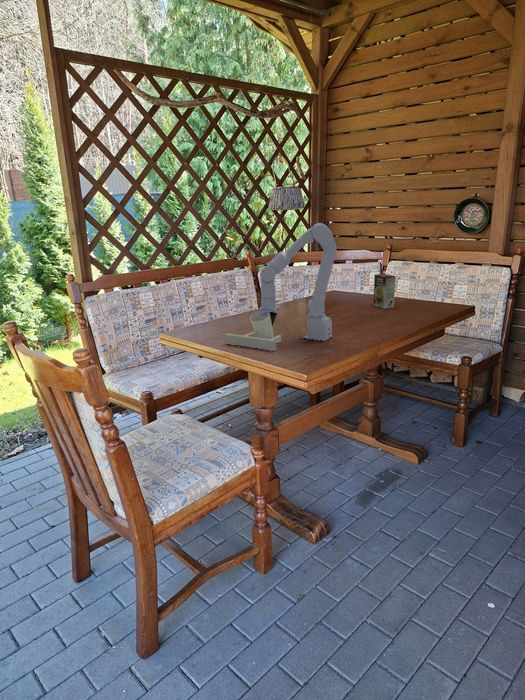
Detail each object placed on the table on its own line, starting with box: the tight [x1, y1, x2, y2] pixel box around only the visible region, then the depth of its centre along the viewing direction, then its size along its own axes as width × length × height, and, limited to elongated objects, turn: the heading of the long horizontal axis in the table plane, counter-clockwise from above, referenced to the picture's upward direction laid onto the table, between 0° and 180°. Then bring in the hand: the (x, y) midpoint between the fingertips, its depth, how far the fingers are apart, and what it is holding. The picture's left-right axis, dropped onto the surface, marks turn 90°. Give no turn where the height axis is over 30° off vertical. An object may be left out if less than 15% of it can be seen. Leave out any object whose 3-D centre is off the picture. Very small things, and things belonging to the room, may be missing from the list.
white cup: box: [249, 312, 275, 339], centre depth 184 cm, size 8×8×10 cm
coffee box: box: [373, 273, 396, 310], centre depth 238 cm, size 9×6×16 cm
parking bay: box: [224, 331, 282, 352], centre depth 182 cm, size 22×13×4 cm, turn 57°
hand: (269, 330), depth 189 cm, fingers closed, pressing on white cup
